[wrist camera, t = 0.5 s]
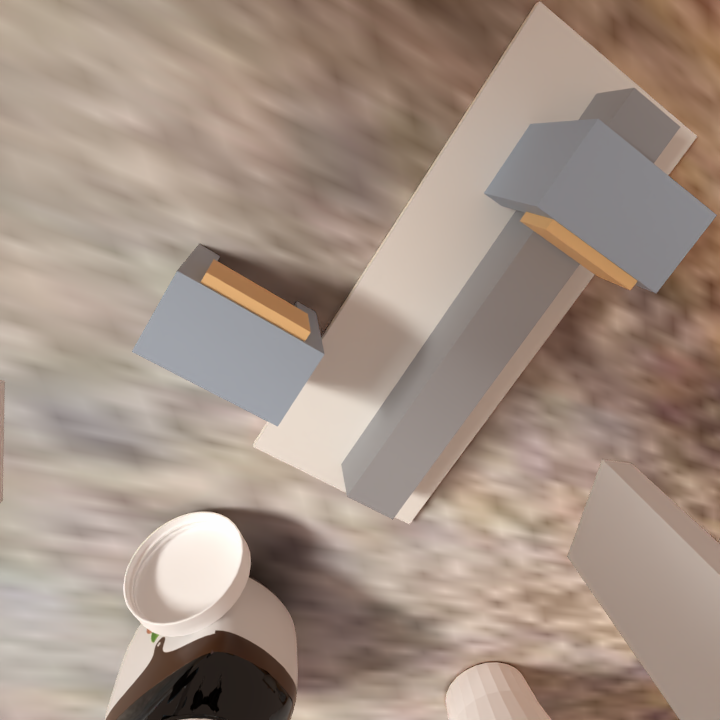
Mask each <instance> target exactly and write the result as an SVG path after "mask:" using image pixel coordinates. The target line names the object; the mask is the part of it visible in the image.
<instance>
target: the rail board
mask: <svg viewBox="0 0 720 720" xmlns="http://www.w3.org/2000/svg"><path fill="white" fill-rule="evenodd" d="M587 119H599V120H601V121H602V122H603V123H604V124H606V125H607V126H608V127H609V128H611V129H612V130H613V131H614V132H615V133H617V134H618V135H619V136H620V137H622V138H623V139H624V140H625V141H626V142H628V143H629V144H630V145H631V146H633V147H634V148H635V149H636V150H637V151H639V152H640V153H641V154H642V155H644V156H645V157H646V158H647V159H649V160H650V161H651V162H652V163H653V164H655V165H656V166H657V167H658V168H660V169H661V170H662V171H663V172H664V173H666V174H667V175H669V174H670V173H671V171H672V170H673V169H674V167H675V166H676V165H677V163H678V162H679V161H680V159H681V158H682V156H683V155H684V154H685V152H686V151H687V150H688V148H689V147H690V146H691V144H692V143H693V142H694V140H695V139H696V138H697V136H696V135H695V134H694V133H693V132H692V131H691V130H689V129H688V128H687V127H686V126H685V125H684V124H682V123H681V122H680V121H679V120H678V119H677V118H675V117H674V116H673V115H672V114H671V113H670V112H668V111H667V110H666V109H665V108H664V107H663V106H661V105H660V104H659V103H658V102H657V101H656V100H654V99H653V98H652V97H651V96H650V95H649V94H648V93H646V92H645V91H644V90H643V89H642V88H641V87H639V86H638V85H637V84H636V83H635V82H634V81H632V80H631V79H630V78H629V77H628V76H627V75H625V74H624V73H623V72H622V71H621V70H620V69H618V68H617V67H616V66H615V65H614V64H613V63H611V62H610V61H609V60H608V59H607V58H606V57H604V56H603V55H602V54H601V53H600V52H599V51H597V50H596V49H595V48H594V47H593V46H592V45H590V44H589V43H588V42H587V41H586V40H585V39H583V38H582V37H581V36H580V35H579V34H578V33H576V32H575V31H574V30H573V29H572V28H571V27H569V26H568V25H567V24H566V23H565V22H564V21H562V20H561V19H560V18H559V17H558V16H557V15H555V14H554V13H553V12H552V11H551V10H550V9H548V8H547V7H546V6H545V5H544V4H543V3H541V2H540V1H539V2H537V3H536V4H535V5H534V7H533V8H532V10H531V11H530V13H529V15H528V16H527V18H526V19H525V21H524V22H523V24H522V25H521V27H520V29H519V30H518V32H517V33H516V35H515V36H514V38H513V40H512V41H511V43H510V44H509V46H508V47H507V49H506V50H505V52H504V54H503V55H502V57H501V58H500V60H499V61H498V63H497V64H496V66H495V68H494V69H493V71H492V72H491V74H490V75H489V77H488V78H487V80H486V82H485V83H484V85H483V86H482V88H481V89H480V91H479V93H478V94H477V96H476V97H475V99H474V100H473V102H472V103H471V105H470V107H469V108H468V110H467V111H466V113H465V114H464V116H463V117H462V119H461V121H460V122H459V124H458V125H457V127H456V128H455V130H454V131H453V133H452V135H451V136H450V138H449V139H448V141H447V142H446V144H445V146H444V147H443V149H442V150H441V152H440V153H439V155H438V156H437V158H436V160H435V161H434V163H433V164H432V166H431V167H430V169H429V170H428V172H427V174H426V175H425V177H424V178H423V180H422V181H421V183H420V184H419V186H418V188H417V189H416V191H415V192H414V194H413V195H412V197H411V199H410V200H409V202H408V203H407V205H406V206H405V208H404V209H403V211H402V213H401V214H400V216H399V217H398V219H397V220H396V222H395V223H394V225H393V227H392V228H391V230H390V231H389V233H388V234H387V236H386V238H385V239H384V241H383V242H382V244H381V245H380V247H379V248H378V250H377V252H376V253H375V255H374V256H373V258H372V259H371V261H370V262H369V264H368V266H367V267H366V269H365V270H364V272H363V273H362V275H361V276H360V278H359V280H358V281H357V283H356V284H355V286H354V287H353V289H352V291H351V292H350V294H349V295H348V297H347V298H346V300H345V301H344V303H343V305H342V306H341V308H340V309H339V311H338V312H337V314H336V315H335V317H334V319H333V320H332V322H331V323H330V325H329V326H328V328H327V329H326V331H325V333H324V334H323V336H322V337H321V339H322V344H323V349H324V356H323V358H322V359H321V361H320V362H319V364H318V365H317V367H316V368H315V370H314V371H313V373H312V375H311V376H310V378H309V379H308V381H307V382H306V384H305V385H304V387H303V388H302V390H301V392H300V393H299V395H298V396H297V398H296V399H295V401H294V402H293V404H292V405H291V407H290V408H289V410H288V412H287V413H286V415H285V416H284V418H283V419H282V421H281V422H280V424H279V425H278V426H276V425H274V424H272V423H270V422H268V421H267V423H266V425H265V426H264V428H263V429H262V431H261V432H260V434H259V436H258V437H257V439H256V440H255V442H254V446H253V447H255V448H257V449H259V450H261V451H263V452H265V453H267V454H269V455H271V456H273V457H275V458H277V459H279V460H281V461H283V462H285V463H287V464H289V465H291V466H293V467H295V468H297V469H299V470H301V471H303V472H305V473H307V474H309V475H311V476H313V477H315V478H317V479H319V480H321V481H323V482H325V483H327V484H329V485H331V486H333V487H335V488H337V489H339V490H341V491H343V492H345V493H347V497H349V498H351V499H353V500H355V501H357V502H359V503H361V504H363V505H365V506H367V507H369V508H371V509H373V510H375V511H377V512H379V513H381V514H383V515H385V516H387V517H389V518H391V519H394V517H396V518H398V519H400V520H402V521H404V522H406V523H408V524H410V523H411V522H412V520H413V519H414V518H415V516H416V515H417V513H418V512H419V511H420V509H421V508H422V507H423V505H424V504H425V503H426V501H427V500H428V499H429V497H430V496H431V495H432V493H433V492H434V491H435V489H436V488H437V487H438V485H439V484H440V482H441V481H442V480H443V478H444V477H445V476H446V474H447V473H448V472H449V470H450V469H451V468H452V466H453V465H454V464H455V462H456V461H457V460H458V458H459V457H460V456H461V454H462V453H463V452H464V450H465V449H466V447H467V446H468V445H469V443H470V442H471V441H472V439H473V438H474V437H475V435H476V434H477V433H478V431H479V430H480V429H481V427H482V426H483V425H484V423H485V422H486V421H487V419H488V418H489V416H490V415H491V414H492V412H493V411H494V410H495V408H496V407H497V406H498V404H499V403H500V402H501V400H502V399H503V398H504V396H505V395H506V394H507V392H508V391H509V390H510V388H511V387H512V385H513V384H514V383H515V381H516V380H517V379H518V377H519V376H520V375H521V373H522V372H523V371H524V369H525V368H526V367H527V365H528V364H529V363H530V361H531V360H532V359H533V357H534V356H535V355H536V353H537V352H538V350H539V349H540V348H541V346H542V345H543V344H544V342H545V341H546V340H547V338H548V337H549V336H550V334H551V333H552V332H553V330H554V329H555V328H556V326H557V325H558V324H559V322H560V321H561V319H562V318H563V317H564V315H565V314H566V313H567V311H568V310H569V309H570V307H571V306H572V305H573V303H574V302H575V301H576V299H577V298H578V297H579V295H580V294H581V293H582V291H583V290H584V288H585V287H586V286H587V284H588V283H589V282H590V280H591V279H592V278H593V276H594V275H595V274H593V273H592V272H590V271H589V270H588V269H586V268H585V267H583V266H582V265H581V264H579V263H578V262H576V261H575V260H574V259H572V258H571V257H569V256H568V255H567V254H565V253H564V252H562V251H561V250H560V249H558V248H557V247H555V246H554V245H553V244H551V243H550V242H548V241H547V240H546V239H544V238H543V237H541V236H540V235H539V234H537V233H536V232H534V231H533V230H532V229H530V228H529V227H527V226H526V225H525V224H523V223H522V222H520V220H521V218H522V217H523V215H524V214H525V213H524V212H521V211H517V210H514V209H510V208H507V207H503V206H501V205H499V204H498V203H497V202H495V201H494V200H492V199H491V198H490V197H488V196H487V195H485V194H484V192H485V191H486V189H487V188H488V186H489V185H490V183H491V182H492V180H493V179H494V177H495V176H496V174H497V173H498V171H499V170H500V168H501V167H502V165H503V164H504V162H505V161H506V159H507V158H508V156H509V155H510V153H511V152H512V150H513V149H514V148H515V146H516V145H517V143H518V142H519V140H520V139H521V137H522V136H523V134H524V133H525V131H526V130H527V128H528V127H529V125H530V124H535V123H548V122H561V121H574V120H587Z"/></svg>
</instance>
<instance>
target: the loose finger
mask: <svg viewBox="0 0 720 720" xmlns="http://www.w3.org/2000/svg"><path fill="white" fill-rule="evenodd" d="M219 258H220V256H219V255H217V254H216V253H214V252H212V251H211V250H209V249H207V248H205V247H204V246H202V245H200V244H199V245H198V246H197V247H196V248H195V250H194V251H193V252H192V253H191V255H190V256H189V257H188V258H187V259H186V261H185V262H184V263H183V264H182V266H181V267H180V268H179V269H178V270H177V272H176V274H175V276H174V277H173V279H172V281H171V283H170V285H169V286H168V288H167V290H166V292H165V294H164V295H163V297H162V299H161V301H160V302H159V304H158V306H157V308H156V310H155V311H154V313H153V315H152V317H151V318H150V320H149V322H148V324H147V326H146V327H145V329H144V331H143V333H142V335H141V336H140V338H139V340H138V342H137V343H136V345H135V347H134V349H133V351H132V352H133V353H135V354H137V355H139V356H141V357H143V358H145V359H147V360H149V361H151V362H153V363H155V364H157V365H159V366H161V367H163V368H165V369H167V370H168V371H170V372H172V373H174V374H176V375H178V376H180V377H182V378H184V379H186V380H188V381H190V382H192V383H194V384H196V385H198V386H200V387H202V388H204V389H205V390H207V391H209V392H211V393H213V394H215V395H217V396H219V397H221V398H223V399H225V400H227V401H229V402H231V403H233V404H235V405H237V406H239V407H241V408H242V409H244V410H246V411H248V412H250V413H252V414H254V415H256V416H258V417H260V418H262V419H264V420H266V421H268V422H270V423H272V424H274V425H276V426H278V425H279V424H280V422H281V421H282V419H283V418H284V416H285V415H286V413H287V412H288V410H289V408H290V407H291V405H292V404H293V402H294V401H295V399H296V398H297V396H298V395H299V393H300V392H301V390H302V388H303V387H304V385H305V384H306V382H307V381H308V379H309V378H310V376H311V375H312V373H313V371H314V370H315V368H316V367H317V365H318V364H319V362H320V361H321V359H322V358H323V356H324V349H323V344H322V339H321V334H320V329H319V324H318V320H317V315H316V312H315V311H313V310H311V309H310V308H308V307H306V306H304V305H303V304H301V303H299V302H298V301H297V302H296V304H295V305H294V306H293V305H292V304H290V303H288V302H287V301H285V300H283V299H281V298H280V297H278V296H276V295H275V294H273V293H271V292H269V291H268V290H266V289H264V288H263V287H261V286H259V285H257V284H256V283H254V282H252V281H251V280H249V279H247V278H245V277H244V276H242V275H240V274H239V273H237V272H235V271H233V270H232V269H230V268H228V267H227V266H225V265H223V264H221V263H220V262H218V259H219Z"/></svg>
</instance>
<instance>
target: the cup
mask: <svg viewBox="0 0 720 720" xmlns="http://www.w3.org/2000/svg"><path fill="white" fill-rule="evenodd" d="M445 702H446V707H447V713H448V718H449V720H551V718H550V717H549V716H548V714H547V713H546V712H545V710H544V709H543V708H542V706H541V705H540V704H539V702H538V701H537V699H536V697H535V696H534V694H533V692H532V691H531V689H530V687H529V685H528V684H527V682H526V680H525V679H524V677H523V675H522V674H521V673H520V672H519V671H518V670H517V669H516V668H515V667H512V666H510V665H508V664H504V663H498V662H492V663H484V664H480V665H476V666H474V667H471V668H469V669H467V670H465V671H464V672H463V673H461V674H460V675H459V676H457V677H456V679H455V680H454V681H453V682H452V683H451V685H450V687H449V689H448V691H447V693H446V700H445Z"/></svg>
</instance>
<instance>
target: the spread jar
mask: <svg viewBox="0 0 720 720" xmlns="http://www.w3.org/2000/svg"><path fill="white" fill-rule="evenodd" d="M250 567H251V557H250V551H249V548H248V544H247V543H246V541H245V539H244V538H243V536H242V534H241V533H240V531H239V529H238V528H237V526H236V525H235V524H234V523H233V522H232V521H231V520H230V519H229V518H227V517H225V516H223V515H221V514H218V513H214V512H203V511H201V512H193V513H188V514H185V515H182V516H179V517H177V518H175V519H172V520H170V521H168V522H167V523H165V524H164V525H162V526H161V527H159V528H158V529H156V530H155V531H154V532H153V533H152V534H150V535H149V536H148V537H147V538H146V540H145V541H144V542H143V543H142V544H141V545H140V546H139V548H138V549H137V551H136V552H135V553H134V555H133V557H132V559H131V561H130V563H129V565H128V567H127V570H126V574H125V577H124V585H123V590H124V599H125V601H126V604H127V607H128V608H129V610H130V611H131V612H132V614H133V615H134V616H135V617H136V618H137V619H138V620H139V621H140V622H141V624H140V626H139V627H138V629H137V631H136V632H135V634H134V636H133V638H132V640H131V642H130V644H129V646H128V648H127V650H126V653H125V656H124V658H123V661H122V664H121V667H120V670H119V673H118V676H117V679H116V682H115V685H114V689H113V692H112V695H111V698H110V702H109V705H108V709H107V712H106V716H105V720H290V719H291V716H292V713H293V710H294V706H295V702H296V694H297V682H298V662H297V639H296V631H295V626H294V623H293V620H292V618H291V615H290V614H289V612H288V610H287V609H286V607H285V606H284V605H283V603H282V602H281V601H280V600H279V599H278V598H277V596H276V595H275V594H274V593H273V592H272V591H271V590H270V589H269V588H267V587H266V586H265V585H264V584H262V583H261V582H259V581H258V580H256V579H254V578H253V577H251V576H249V573H250Z"/></svg>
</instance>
